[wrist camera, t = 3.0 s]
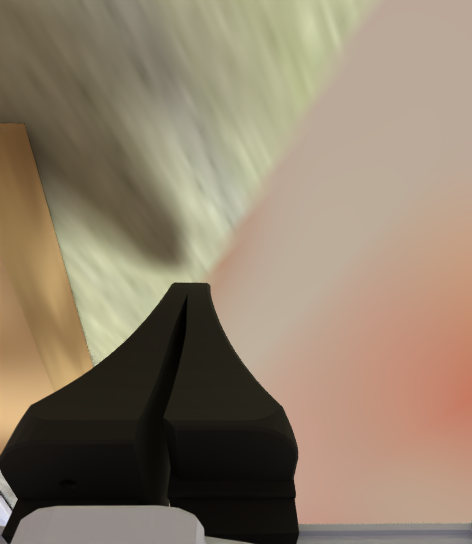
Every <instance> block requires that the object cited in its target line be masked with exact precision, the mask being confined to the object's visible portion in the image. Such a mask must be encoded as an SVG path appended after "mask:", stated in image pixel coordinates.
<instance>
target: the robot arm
mask: <svg viewBox="0 0 472 544" xmlns="http://www.w3.org/2000/svg"><path fill="white" fill-rule="evenodd" d="M297 461H298V447H297V443H296V439H295V436H294V433H293V430H292V427H291V425H290V423H289V420H288V418H287V416H286V414H285V411H284V409H283V407H282V406H281V405H280V404H279V403H278V402H277V401H276V400H275V399H274V398H273V397H272V396H271V395H270V394H268V392H267V391H266V390H265V389H264V388H263V387H262V386H261V385H260V384H259V382H258V381H257V380H256V379H255V378H254V376H253V375H252V374H251V373H250V372H249V370H248V369H247V368H246V366H245V365H244V364H243V362H242V361H241V359H240V358H239V356H238V355H237V353H236V352H235V350H234V349H233V347H232V345H231V344H230V342H229V340H228V338H227V336H226V334H225V332H224V330H223V328H222V326H221V324H220V322H219V319H218V316H217V314H216V311H215V309H214V305H213V302H212V298H211V293H210V285H209V284H208V283H173V284H172V285H171V286H170V288H169V290H168V291H167V293H166V294H165V295H164V297H163V298H162V300H161V301H160V302H159V304H158V305H157V306H156V307H155V309H154V310H153V311H152V312H151V314H150V315H149V316H148V317H147V319H146V320H145V321H144V322H143V323H142V324H141V325H140V326H139V327H138V328H137V330H136V331H135V332H134V333H133V334H132V335H131V336H130V337H129V338H128V339H127V340H126V341H125V342H124V343H123V344H121V345H120V346H119V347H118V348H117V349H116V350H115V351H114V352H112V353H111V354H110V355H109V356H108V357H106V358H105V359H104V360H103V361H101V362H100V363H99V364H97V365H96V366H95V367H93V368H92V369H91V370H89V371H88V372H86V373H85V374H83V375H82V376H80V377H79V378H77V379H76V380H74V381H72V382H71V383H69V384H68V385H66V386H64V387H63V388H61V389H59V390H57V391H56V392H54V393H52V394H50V395H48V396H47V397H45V398H43V399H41V400H39V401H38V402H36V403H34V404H32V405H30V406H29V408H28V409H27V411H26V412H25V414H24V415H23V417H22V418H21V419H20V421H19V423H18V424H17V426H16V428H15V430H14V431H13V433H12V435H11V437H10V439H9V440H8V442H7V444H6V446H5V448H4V449H3V451H2V453H1V455H0V470H1V473H2V475H3V476H4V478H5V480H6V481H7V483H8V484H9V486H10V487H11V489H12V491H13V492H14V494H15V495H16V497H17V498H18V500H17V502H16V504H15V507H14V509H13V511H11V509H10V508H9V506H8V505H7V503H6V502H5V500H4V499H3V497H2V496H1V495H0V544H472V522H471V523H397V524H394V523H393V524H392V523H391V524H390V523H384V524H298V520H297V513H296V506H295V497H296V491H295V485H294V474H295V470H296V465H297ZM169 503H170V507H169Z"/></svg>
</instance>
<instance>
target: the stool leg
mask: <svg viewBox="0 0 472 544" xmlns="http://www.w3.org/2000/svg"><path fill="white" fill-rule="evenodd" d="M92 368H93V365H92V362H91V358H90V355H89V351H88V347H87V344H86V340H85V337H84V333H83V330H82V326H81V323H80V319H79V316H78V312H77V309H76V305H75V301H74V298H73V294H72V291H71V287H70V284H69V280H68V277H67V273H66V270H65V266H64V263H63V259H62V255H61V252H60V248H59V245H58V241H57V238H56V234H55V231H54V227H53V224H52V220H51V217H50V213H49V209H48V206H47V202H46V199H45V195H44V192H43V188H42V185H41V181H40V178H39V174H38V171H37V167H36V163H35V160H34V156H33V153H32V149H31V146H30V142H29V139H28V135H27V132H26V128H25V125H24V124H20V123H0V455H1V453H2V451H3V449H4V448H5V446H6V444H7V442H8V440H9V439H10V437H11V435H12V433H13V431H14V430H15V428H16V426H17V424H18V423H19V421H20V419H21V418H22V417H23V415H24V414H25V412H26V411H27V409H28V408H29V406H30V405H32V404H34V403H36V402H38V401H39V400H41V399H43V398H45V397H47V396H48V395H50V394H52V393H54V392H56V391H57V390H59V389H61V388H63V387H64V386H66V385H68V384H69V383H71V382H72V381H74V380H76V379H77V378H79V377H80V376H82V375H83V374H85V373H86V372H88V371H89V370H91V369H92Z"/></svg>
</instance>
